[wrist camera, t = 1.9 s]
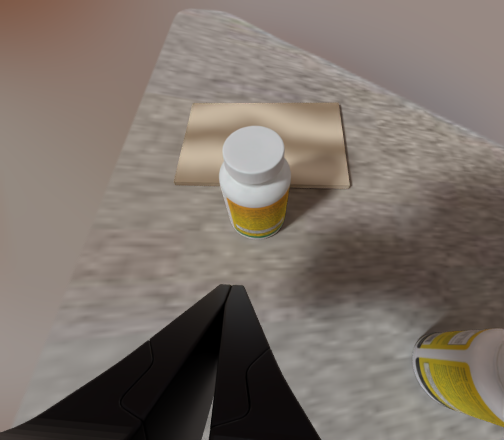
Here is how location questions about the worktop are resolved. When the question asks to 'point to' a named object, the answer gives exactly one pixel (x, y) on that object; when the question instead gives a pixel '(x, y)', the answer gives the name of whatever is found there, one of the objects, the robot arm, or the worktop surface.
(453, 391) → the supplement bottle
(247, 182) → the supplement bottle
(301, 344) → the worktop surface
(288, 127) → the birch board
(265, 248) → the worktop surface
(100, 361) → the worktop surface
